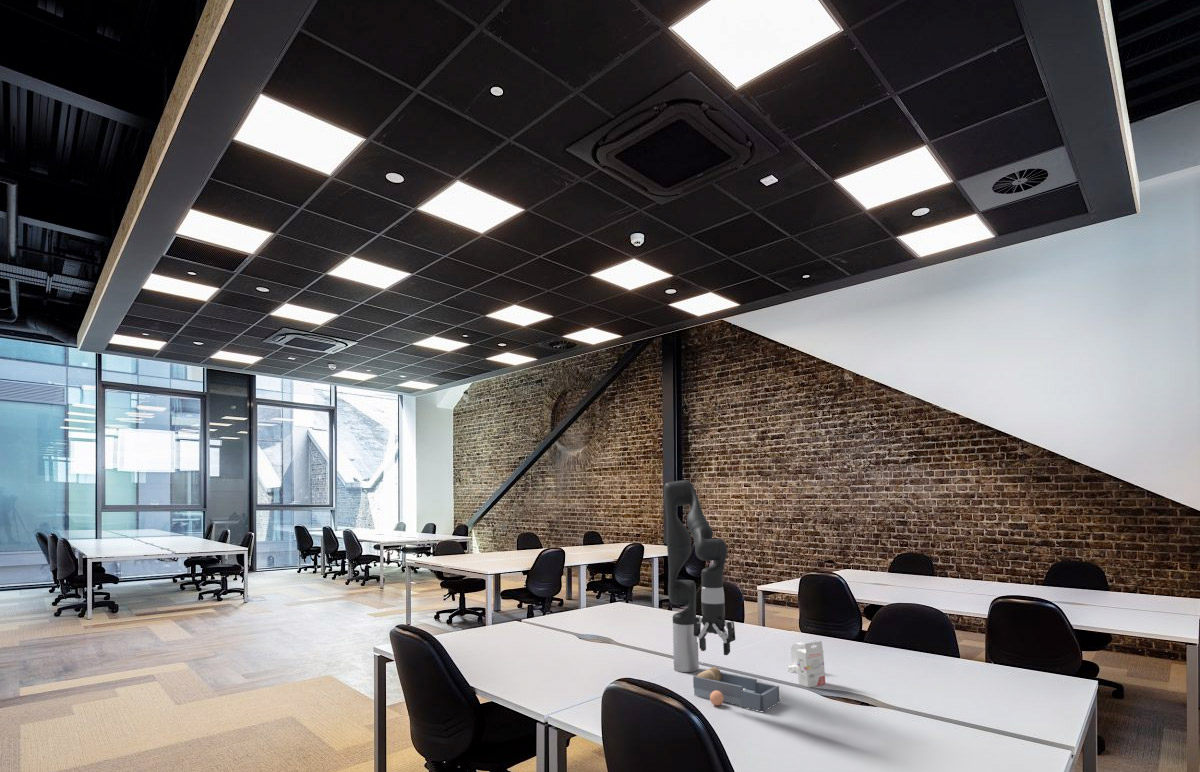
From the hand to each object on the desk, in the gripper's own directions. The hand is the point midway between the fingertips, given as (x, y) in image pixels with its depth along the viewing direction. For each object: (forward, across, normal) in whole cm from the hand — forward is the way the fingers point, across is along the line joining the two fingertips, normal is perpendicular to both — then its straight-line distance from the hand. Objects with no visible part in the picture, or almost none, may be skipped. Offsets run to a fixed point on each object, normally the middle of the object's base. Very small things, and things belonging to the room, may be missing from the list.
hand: (714, 652), depth 205 cm
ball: (+14, 0, 0) cm, 14 cm away
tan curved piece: (+14, +8, -9) cm, 18 cm away
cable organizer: (+16, -5, -55) cm, 57 cm away
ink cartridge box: (+16, -15, -41) cm, 46 cm away
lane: (+16, -2, -9) cm, 19 cm away
